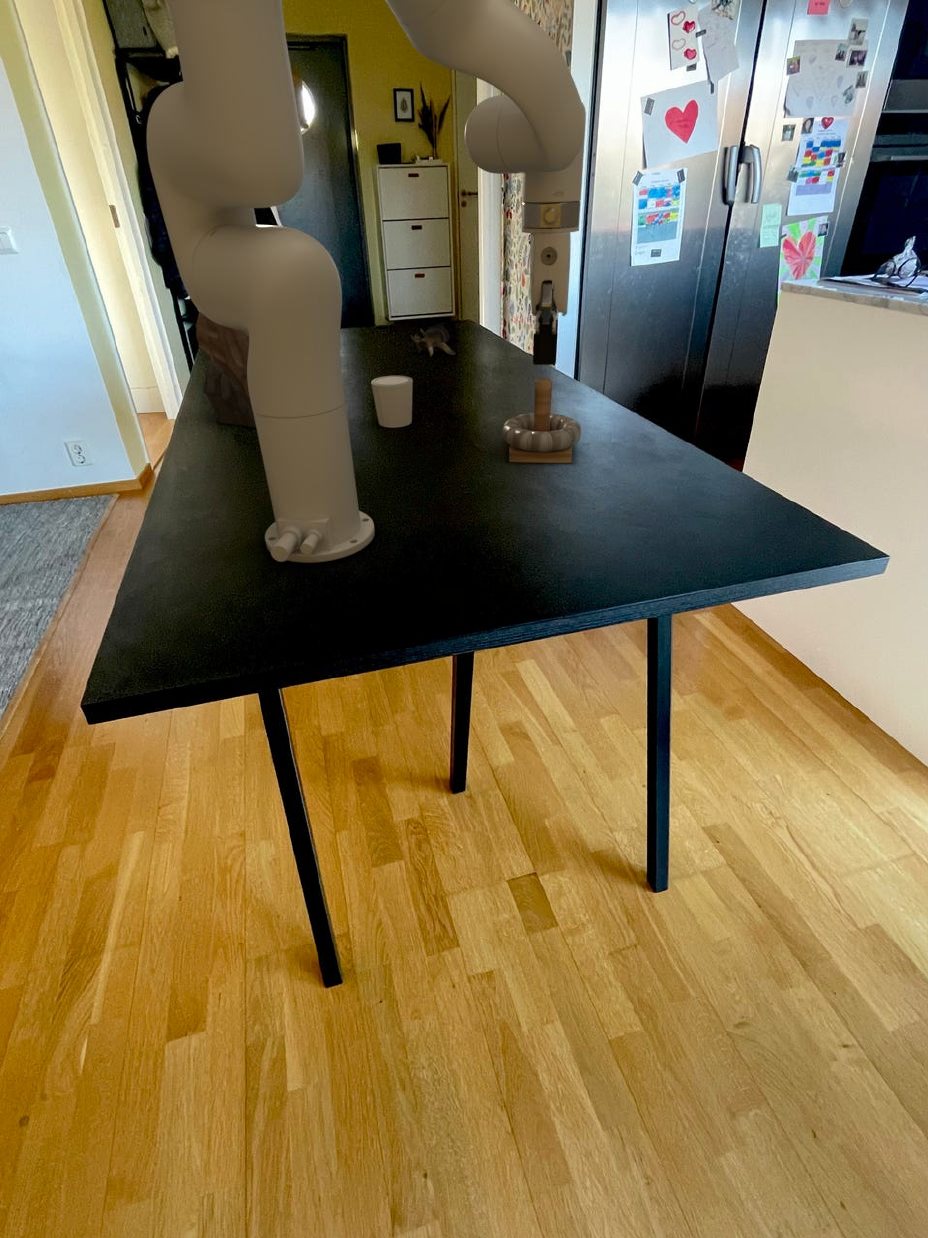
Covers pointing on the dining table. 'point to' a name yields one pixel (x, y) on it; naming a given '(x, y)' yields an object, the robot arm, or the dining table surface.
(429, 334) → the grey toy animal
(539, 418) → the stand
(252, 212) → the robot arm
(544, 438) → the striped ring
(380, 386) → the white cup
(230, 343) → the owl
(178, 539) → the dining table surface
